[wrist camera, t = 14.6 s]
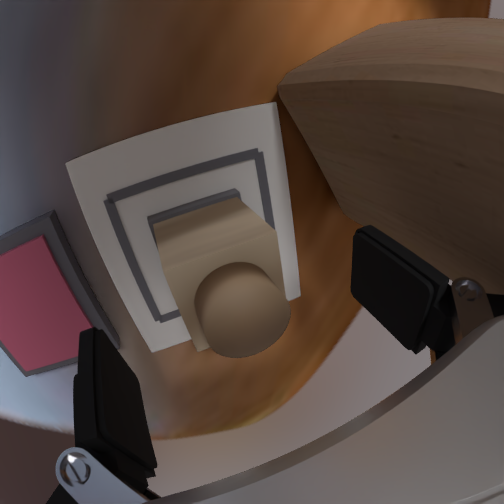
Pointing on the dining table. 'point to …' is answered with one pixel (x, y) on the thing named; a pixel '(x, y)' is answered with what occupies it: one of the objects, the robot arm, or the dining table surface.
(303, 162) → the dining table surface
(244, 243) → the stamp
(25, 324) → the ink pad
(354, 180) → the wooden block
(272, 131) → the paper sheet
